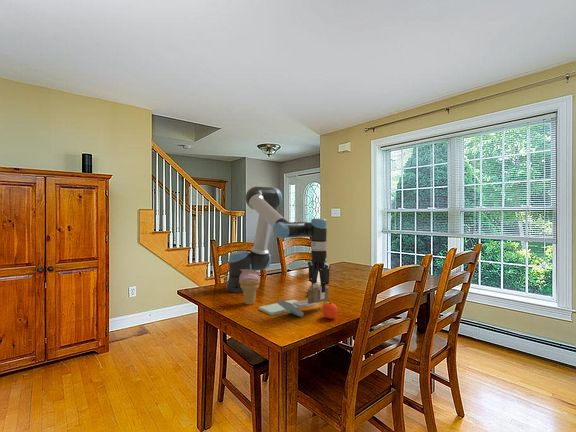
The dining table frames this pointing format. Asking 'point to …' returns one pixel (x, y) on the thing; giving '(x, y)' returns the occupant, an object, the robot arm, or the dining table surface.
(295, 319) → the dining table surface
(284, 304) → the tile
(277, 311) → the board
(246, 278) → the ice cream cone
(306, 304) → the brown grey long block
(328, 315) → the clementine
